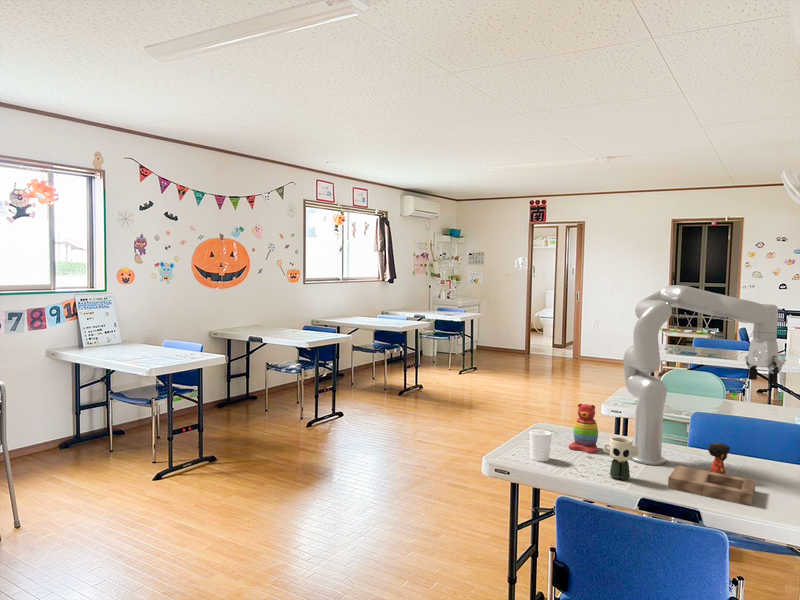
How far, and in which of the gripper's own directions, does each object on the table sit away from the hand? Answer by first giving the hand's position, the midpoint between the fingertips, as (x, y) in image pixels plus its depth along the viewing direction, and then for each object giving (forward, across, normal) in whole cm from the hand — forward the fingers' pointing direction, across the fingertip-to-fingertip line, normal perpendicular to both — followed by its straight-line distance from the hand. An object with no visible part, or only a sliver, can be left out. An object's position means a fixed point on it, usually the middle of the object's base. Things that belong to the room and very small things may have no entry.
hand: (762, 381), depth 215 cm
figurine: (+31, +17, -30) cm, 46 cm away
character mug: (+31, +15, -65) cm, 74 cm away
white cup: (+31, -6, -85) cm, 90 cm away
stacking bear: (+31, -18, -61) cm, 71 cm away
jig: (+31, +27, -40) cm, 58 cm away
